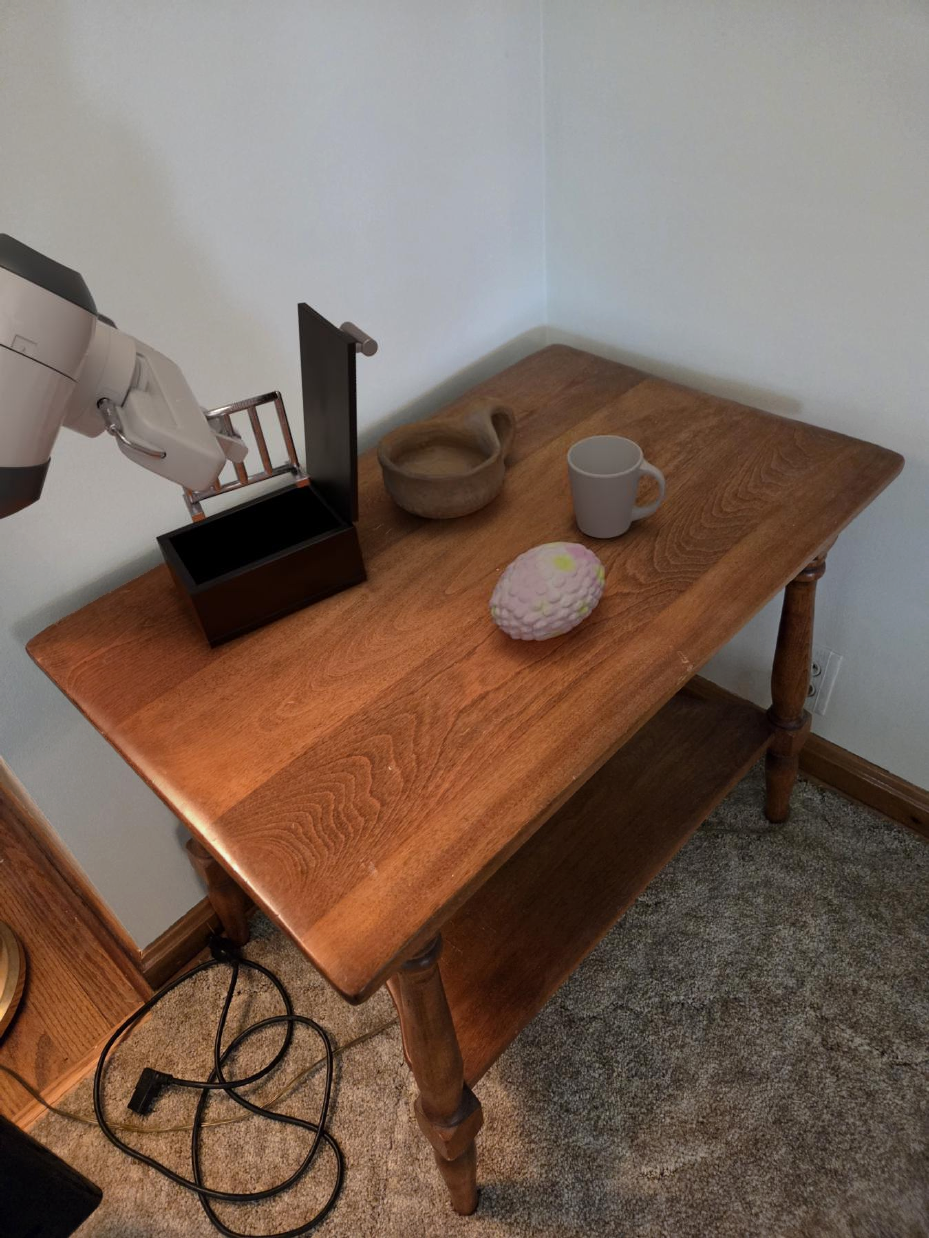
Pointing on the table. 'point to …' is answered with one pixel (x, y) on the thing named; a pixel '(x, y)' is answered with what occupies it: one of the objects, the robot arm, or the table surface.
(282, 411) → the rack
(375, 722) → the table surface
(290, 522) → the oven
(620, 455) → the cup
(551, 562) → the decorative item
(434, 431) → the bowl
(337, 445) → the oven door
